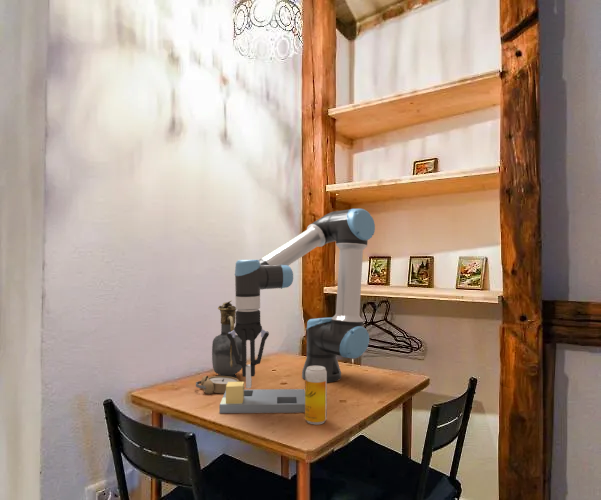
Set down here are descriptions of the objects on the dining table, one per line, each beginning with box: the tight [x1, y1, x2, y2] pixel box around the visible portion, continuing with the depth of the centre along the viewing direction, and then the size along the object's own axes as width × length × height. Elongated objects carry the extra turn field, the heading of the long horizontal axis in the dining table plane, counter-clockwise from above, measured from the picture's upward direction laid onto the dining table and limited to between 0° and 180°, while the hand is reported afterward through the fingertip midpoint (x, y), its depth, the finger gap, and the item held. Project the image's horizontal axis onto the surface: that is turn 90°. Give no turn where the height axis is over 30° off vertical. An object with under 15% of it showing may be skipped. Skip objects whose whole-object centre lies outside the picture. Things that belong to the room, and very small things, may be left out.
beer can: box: [304, 366, 328, 426], centre depth 120 cm, size 6×6×15 cm
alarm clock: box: [195, 375, 240, 395], centre depth 148 cm, size 11×5×15 cm
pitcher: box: [211, 300, 242, 379], centre depth 162 cm, size 11×19×30 cm, turn 18°
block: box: [226, 381, 245, 403], centre depth 130 cm, size 5×5×5 cm
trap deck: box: [218, 388, 305, 414], centre depth 133 cm, size 26×15×2 cm, turn 93°
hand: (248, 386), depth 130 cm, fingers closed
